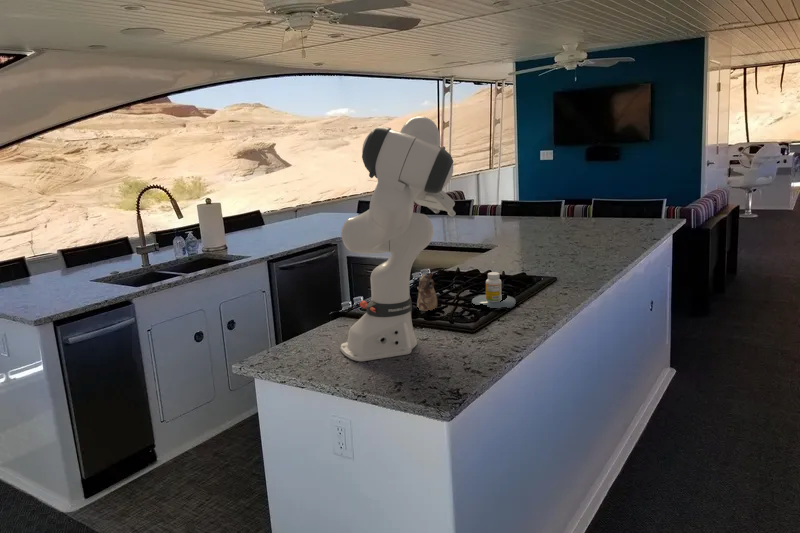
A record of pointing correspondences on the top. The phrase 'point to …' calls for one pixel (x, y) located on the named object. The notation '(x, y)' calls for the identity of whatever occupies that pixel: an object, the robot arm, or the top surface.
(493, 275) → the supplement bottle
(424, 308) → the figurine
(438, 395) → the top surface
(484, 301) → the dish
